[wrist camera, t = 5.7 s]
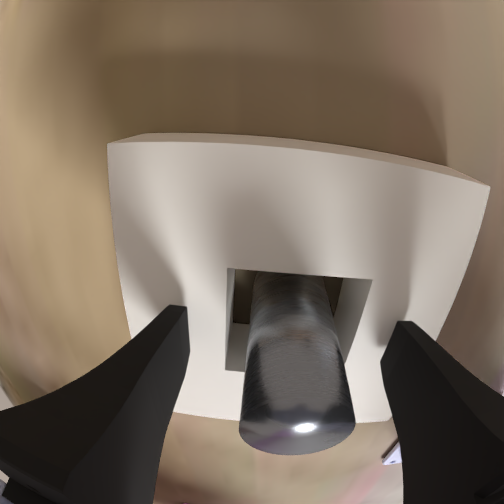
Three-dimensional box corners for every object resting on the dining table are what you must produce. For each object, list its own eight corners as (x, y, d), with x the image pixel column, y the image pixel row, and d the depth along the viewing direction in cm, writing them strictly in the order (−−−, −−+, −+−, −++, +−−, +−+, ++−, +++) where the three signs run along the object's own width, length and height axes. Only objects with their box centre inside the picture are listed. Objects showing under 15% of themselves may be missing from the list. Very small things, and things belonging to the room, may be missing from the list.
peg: (331, 261, 12) (374, 400, 6) (313, 318, 14) (332, 456, 8) (259, 249, 12) (247, 392, 6) (248, 309, 14) (233, 450, 7)
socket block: (448, 166, 10) (490, 186, 8) (376, 379, 16) (388, 420, 13) (144, 133, 11) (107, 143, 8) (164, 365, 16) (149, 407, 13)
